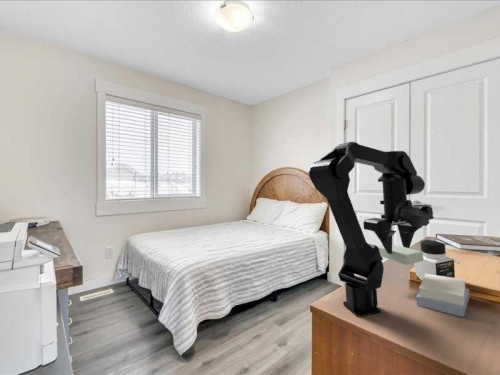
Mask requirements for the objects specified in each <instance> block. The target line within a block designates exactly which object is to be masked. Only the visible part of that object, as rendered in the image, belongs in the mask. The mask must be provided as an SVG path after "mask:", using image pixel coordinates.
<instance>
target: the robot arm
mask: <svg viewBox="0 0 500 375" xmlns="http://www.w3.org/2000/svg"><path fill="white" fill-rule="evenodd" d="M355 163H357V164H361V165H366V166H371V167H372V168H374V170H375V171H377V172H378V173H381V174H382V175H381V176H379V177H378V179H377V182H378V183H380V182H382V183H381V184H382V196H383V197H382V198H383V199H382V200H379V203H380V205H383V213H384V214H380V218H378V217H371V218H365V220H363V222H362V224H363V229H364V230H367V231H371V232H374V234H375V236H376V237H377V238H378V240H379V241H380V242H381V246H382V245H383V246H384V248H385V250H386V251H387V253H388V254H392V244H393V236H394V234H396V232H397V230H393V226H397V229H398V233H399V237H400V241H401V244H402V247H406V248H411V247H410V246H411V244H412V240H413V238H414V235H415V233H416V232H417V231H418V230H420V229H422V228H423V226H424V227H427V226H428V225H429V224H430V220H434V211H433V207H431V206H429V205H422V206H421V207H418V206H417V207H415V206H413V202H412V201H411V199H408V197H407V196H410V195H416V194H420V193H422V191H423V190H424V189H425V188H426V187H425V186H426V183H425V180H424V179H423V177H421V176H420V175H418V172H417V170H416V168H415V166H414V164H413V162H412V160H411V157H410V156H409V155H408V153H407V152H406V151H405V150H391V151H384V150H381V149H377V148H373V147H369V146H366V145H363V144H359V143H358V142H355V141H349V142H344V143H340V144H338V145H336V146H335V147H334V148H333V149H332V150H331V151H330V152H328V153H327V154H325V155H324V156H322V157H321V158H319V159H318V160H317V161H314V162H313V163H312V164H311V165H310V168H309V170H308V176H309V179H310V181H311V183H312V184H313V186H314V188H315V189H316V190H317V192H319V194H321V195H322V196H323V197H325V199H326V200H327V204H328V205H329V208H330V211H331V213H332V216H333V218H334V221H335V223H336V226H337V227H338V231H339V233H340V236H341V238H342V240H343V244H344V247H345V250H344V254H343V259H344V262H343V264H342V266H341V268H340V270H339V271H338V274H337V275H338V278H339V281H340V282H344V283H345V284H344V287H345V297H346V298H345V301H343V302H342V303H343V305H344V306H345V307H346V308H347V307H348V308H349V309H350V310H349V309H348V308H347V309H348V310H349V311H350V312H352V313H353V314H354V313H355V314H356V315H357V317H361V316H368V315H374V314H378V313H381V312H382V310H381V308H379V307H378V289H380V288H381V287H382V282H383V277H384V269H385V268H384V263H383V260H384V257H381V255H380V252H379V248H378V247H377V246H378V245H376V244H371V243H368V242H367V241H366V237H365V234H364V233H363V229H362V227H361V224H360V221H359V220H358V217H357V214H356V212H355V208H354V206H353V202H352V200H351V198H350V195H349V192H348V189H349V186H350V180H351V177H350V175H349V174H350V172H351V171H353V169H354V168H355V165H356V164H355ZM355 314H354V315H355ZM356 315H355V316H356Z"/></svg>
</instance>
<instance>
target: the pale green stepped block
mask: <svg viewBox="0 0 500 375" xmlns="http://www.w3.org/2000/svg"><path fill="white" fill-rule="evenodd" d="M376 246H377V247H378V248H379V252H380V255H381V257H382V258H383V259H384V258H385V259H388V260H390V261H393V262H396V263H399V264H402V265H406V266H407V265H412V264H415V263H417V262H421V261H423V252H422V251H421V250H417V249H413V248H411V247H409V248H406V247H403V245H402V246H401V245H397V244H394V243H392V254H388V253H387V251H386V250H385V248H384V246H383V245H382V244H381V245H376Z"/></svg>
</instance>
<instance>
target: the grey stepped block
mask: <svg viewBox="0 0 500 375" xmlns="http://www.w3.org/2000/svg"><path fill="white" fill-rule="evenodd" d="M469 300H470V289H469V288H466V279H462V278H456V277H455V278H451V277H444V276H438V275H432V274H425V276H424V279H423V281H422V280H421V283H420V285H419V290H418V293H417V294H416V296H415V301H416V302H415V303H416V306H419V307H422V308H427V309H430V310H434V311H438V312H442V313H446V314H450V315H454V316H457V317H461V318H464V317H465V314H466V312H467V308H468V307H467V306H468V304H469Z"/></svg>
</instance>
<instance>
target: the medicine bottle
mask: <svg viewBox="0 0 500 375" xmlns="http://www.w3.org/2000/svg"><path fill="white" fill-rule="evenodd" d="M420 251H422V252H423V261H421V262H417V263H414V271H415V272H414V274H415V273H416V275H417V276H418V277H419V279H420V281H421V282H422V281H423V279H424V276H425V274H432V275H438V276H444V277H451V278H456V270H455V260H454V259H455V258H452V257H450V256H447V254H446V251H447V250H446V244H445V242H443V241H441V240H438V239H424V240H422V241H420ZM419 279H418V280H419Z"/></svg>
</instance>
